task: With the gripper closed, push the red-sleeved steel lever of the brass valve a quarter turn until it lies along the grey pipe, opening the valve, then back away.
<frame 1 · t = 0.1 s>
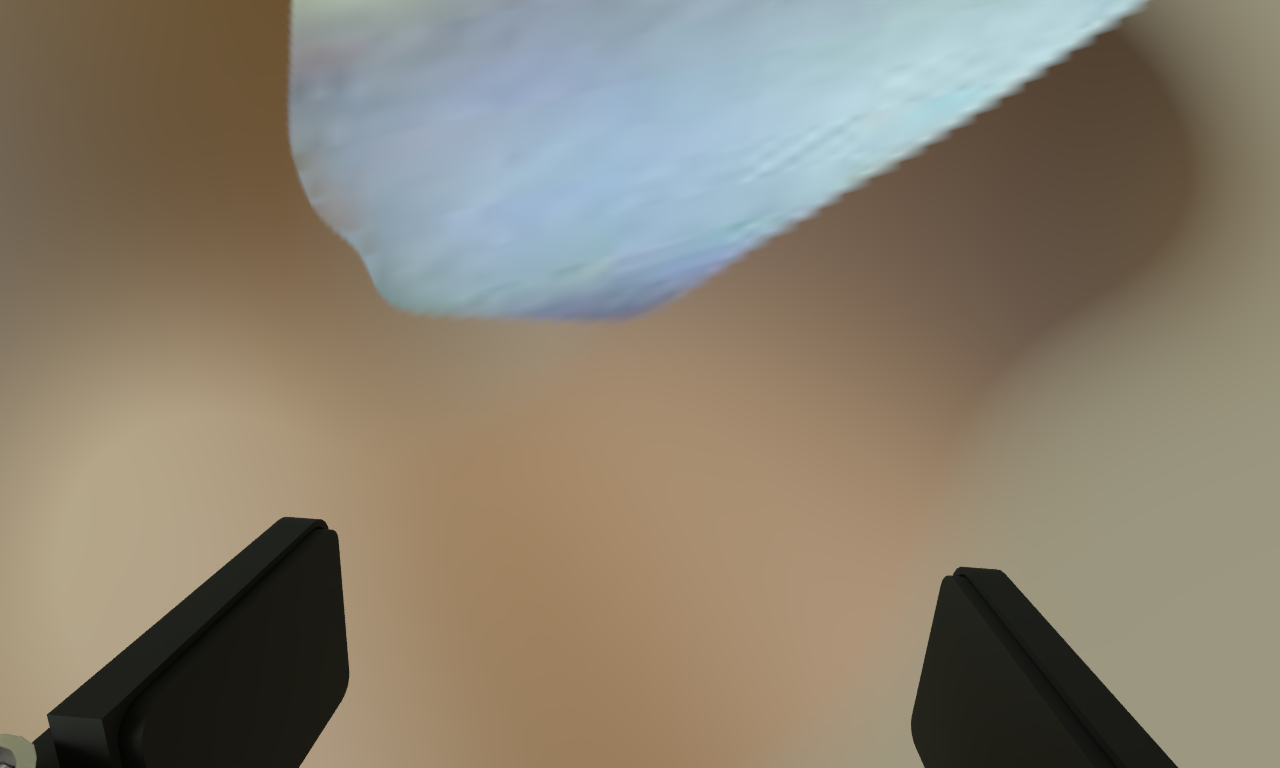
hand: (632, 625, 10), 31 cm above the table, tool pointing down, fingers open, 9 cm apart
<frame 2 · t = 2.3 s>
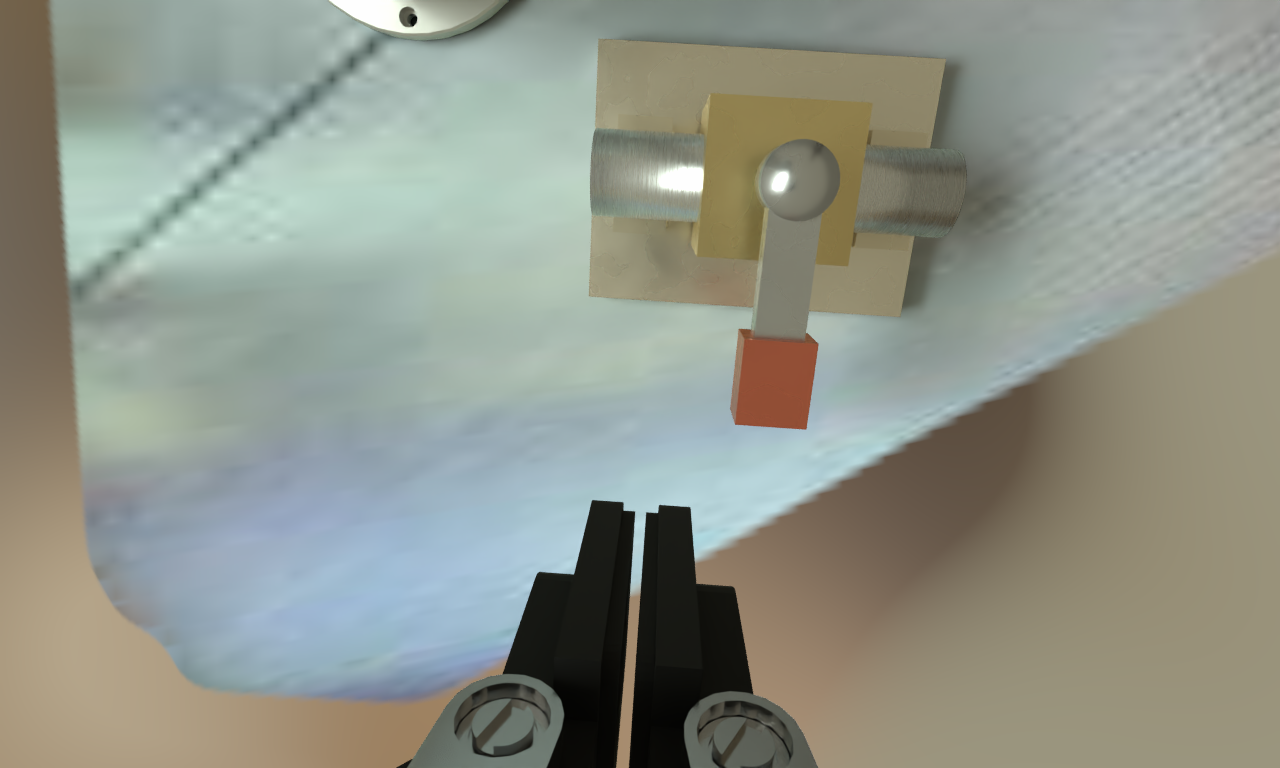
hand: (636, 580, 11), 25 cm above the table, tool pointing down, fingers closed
valve lever: (783, 288, 23), point 11 cm above the table, hinge at 0.0°
valve stand: (752, 185, 33), on the table
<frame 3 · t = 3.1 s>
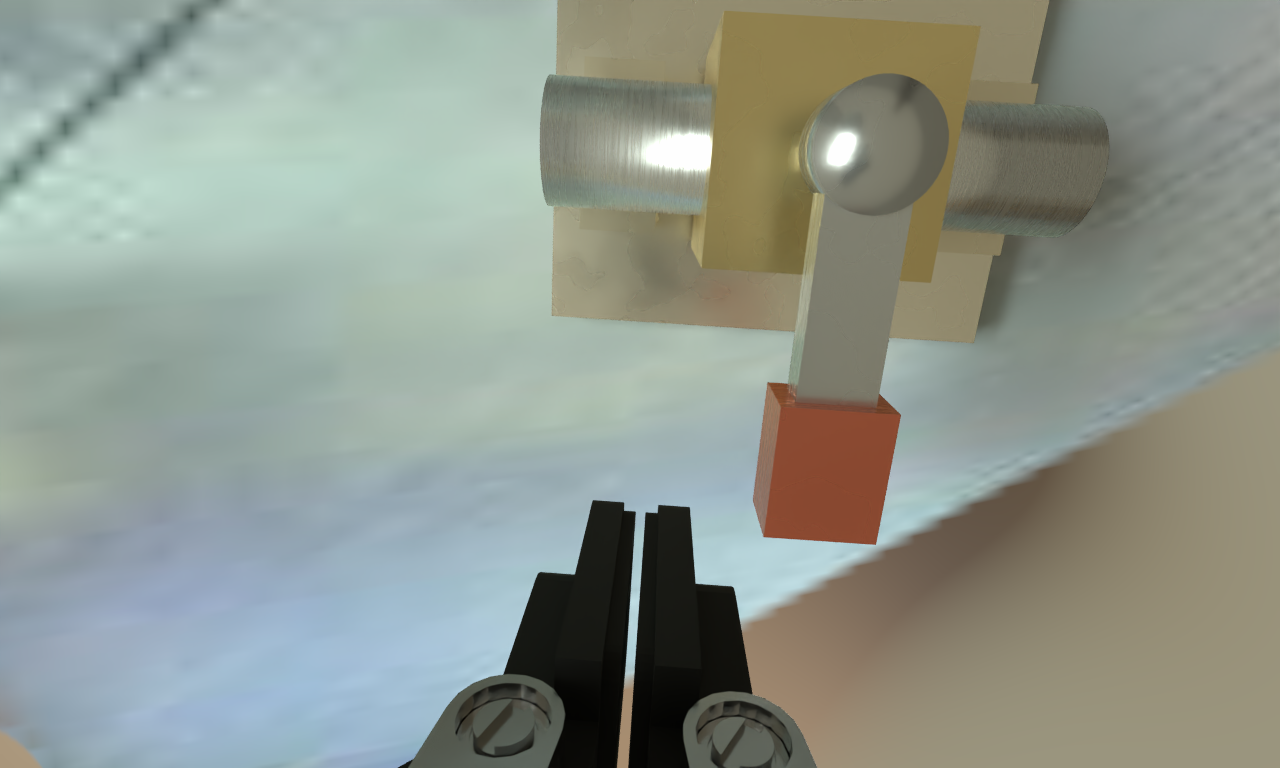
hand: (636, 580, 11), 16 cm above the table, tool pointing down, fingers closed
valve lever: (842, 323, 14), point 11 cm above the table, hinge at 0.0°
valve stand: (774, 163, 24), on the table
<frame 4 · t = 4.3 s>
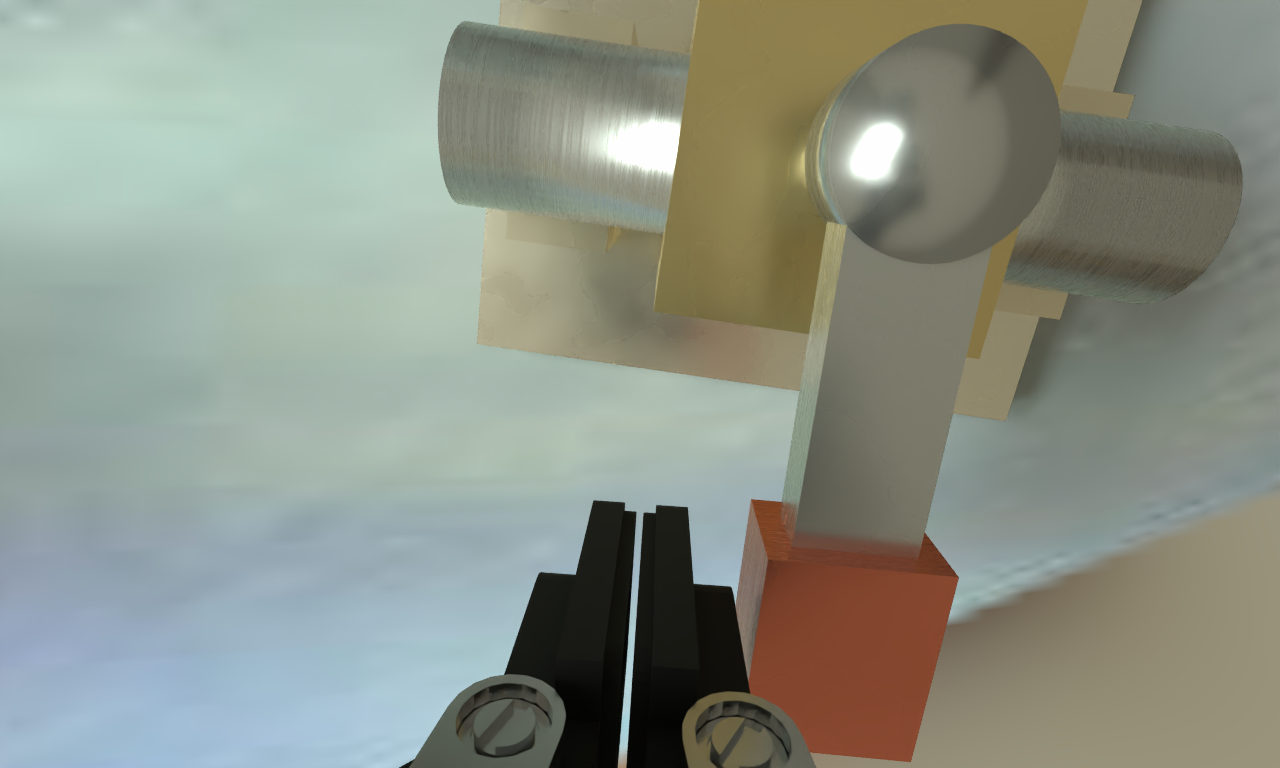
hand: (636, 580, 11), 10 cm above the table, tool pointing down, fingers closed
valve lever: (867, 425, 9), point 11 cm above the table, hinge at 3.3°, touching gripper
valve stand: (773, 174, 19), on the table
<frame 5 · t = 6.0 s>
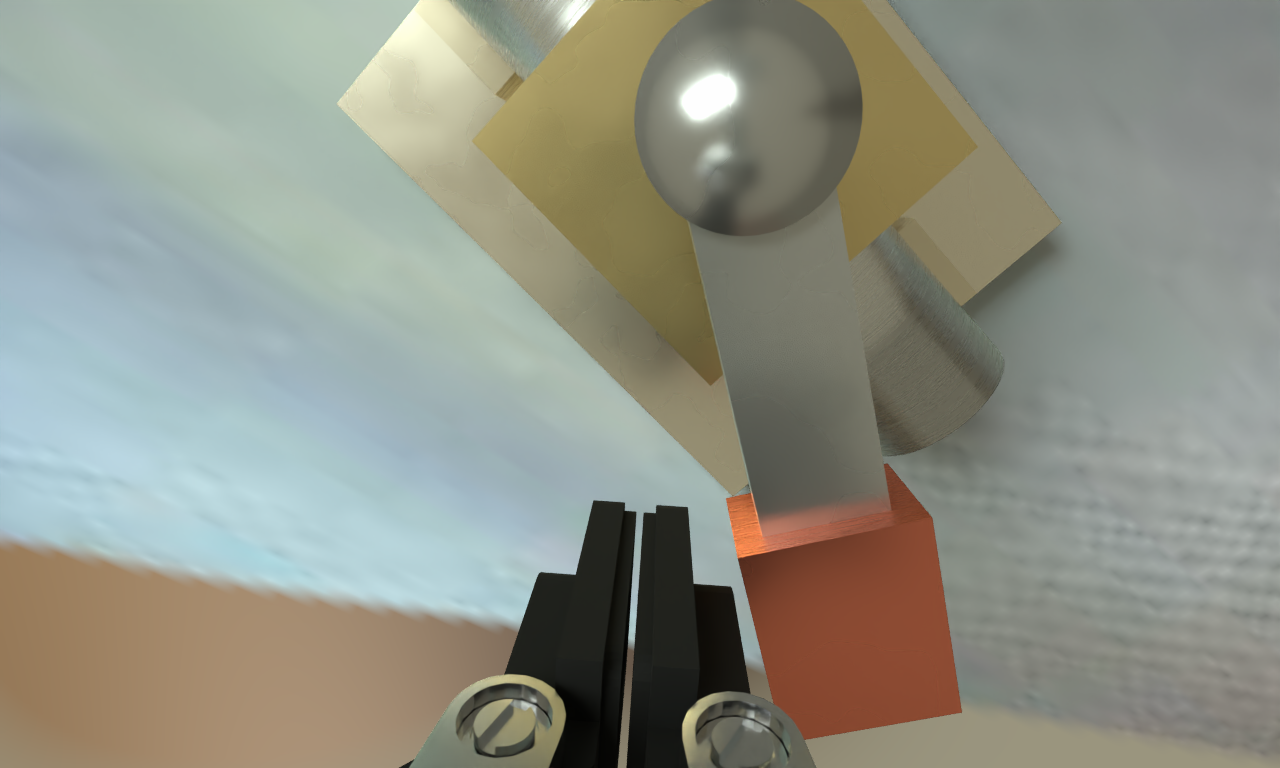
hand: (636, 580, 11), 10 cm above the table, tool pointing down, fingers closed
valve lever: (795, 396, 9), point 11 cm above the table, hinge at 60.5°, touching gripper
valve stand: (697, 165, 19), on the table
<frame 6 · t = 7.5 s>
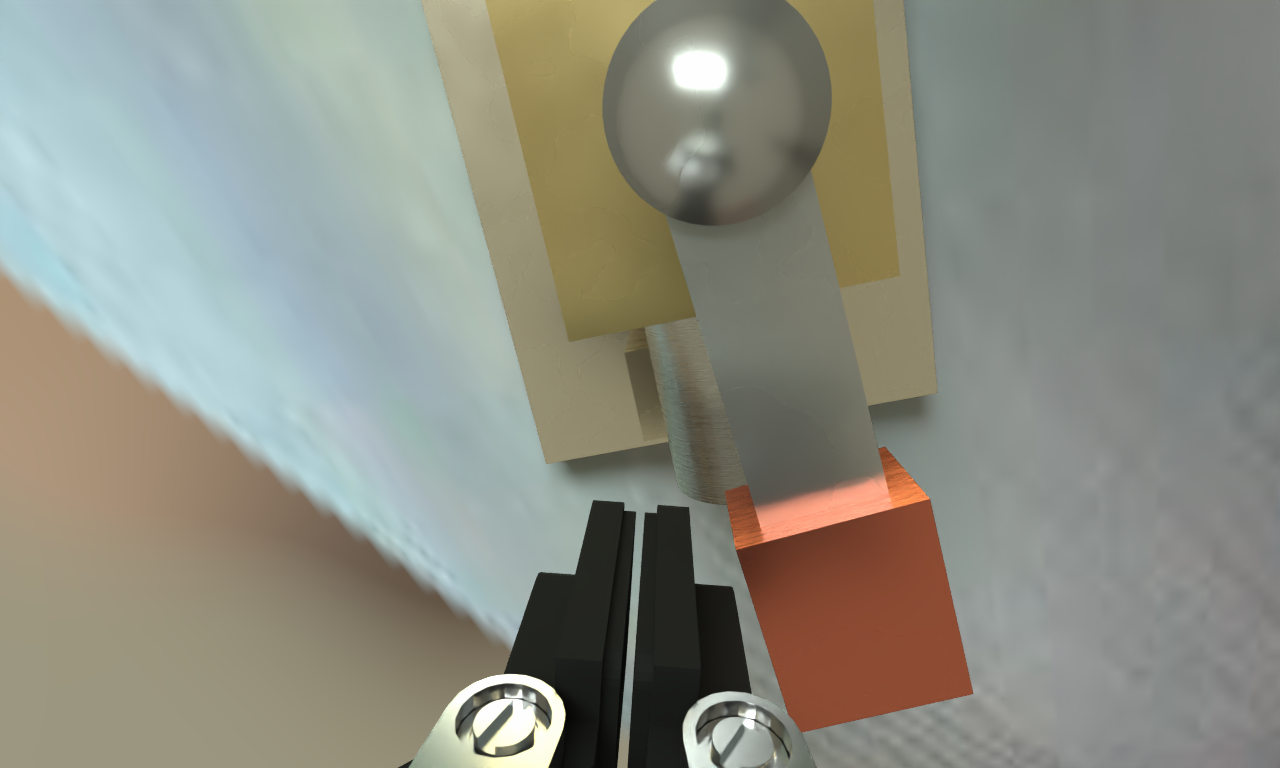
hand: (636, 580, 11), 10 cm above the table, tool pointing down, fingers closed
valve lever: (785, 384, 9), point 11 cm above the table, hinge at 96.2°, touching gripper
valve stand: (685, 160, 19), on the table
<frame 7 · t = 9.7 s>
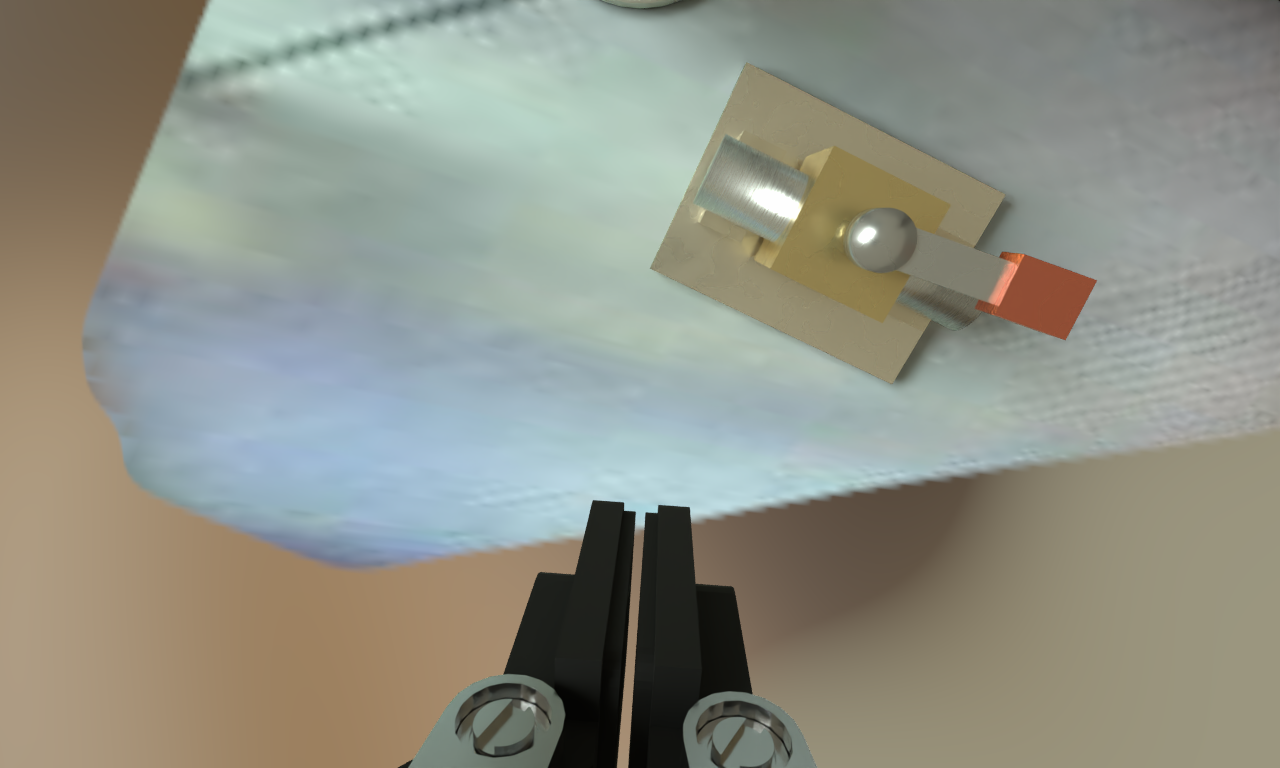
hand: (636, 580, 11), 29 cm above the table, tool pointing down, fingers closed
valve lever: (959, 268, 27), point 11 cm above the table, hinge at 96.3°
valve stand: (817, 231, 38), on the table
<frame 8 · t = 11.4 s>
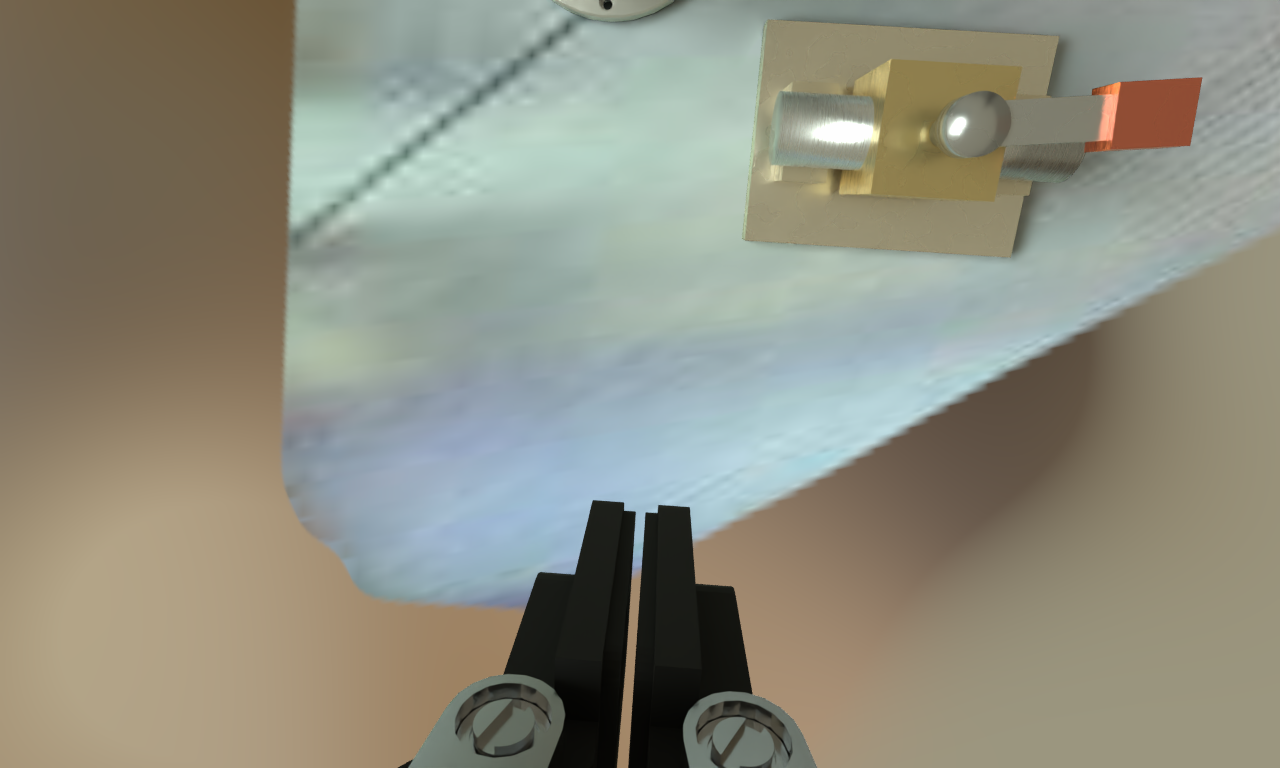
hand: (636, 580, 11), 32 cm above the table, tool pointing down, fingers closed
valve lever: (1059, 121, 28), point 11 cm above the table, hinge at 96.3°
valve stand: (885, 145, 39), on the table
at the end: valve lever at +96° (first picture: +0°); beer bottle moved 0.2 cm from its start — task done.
